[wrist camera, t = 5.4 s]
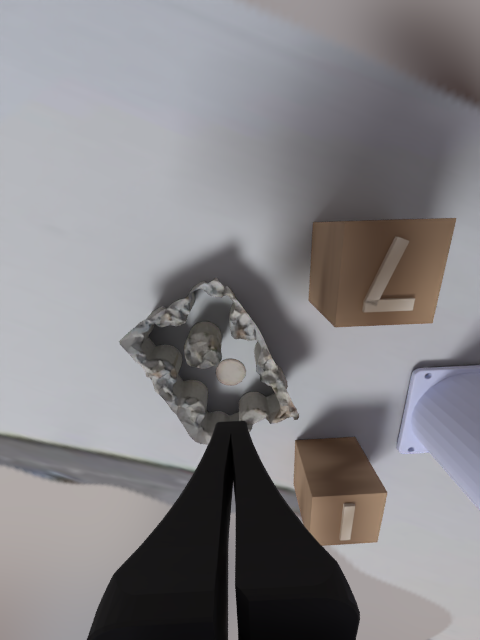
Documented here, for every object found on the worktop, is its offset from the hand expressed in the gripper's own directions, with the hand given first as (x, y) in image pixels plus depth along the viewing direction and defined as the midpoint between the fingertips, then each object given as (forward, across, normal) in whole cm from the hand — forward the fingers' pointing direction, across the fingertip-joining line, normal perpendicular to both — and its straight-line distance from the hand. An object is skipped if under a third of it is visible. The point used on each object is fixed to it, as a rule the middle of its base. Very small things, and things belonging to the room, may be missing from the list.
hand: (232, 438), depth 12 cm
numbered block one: (+8, -7, +10) cm, 15 cm away
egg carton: (+8, +1, 0) cm, 8 cm away
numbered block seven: (+8, -8, -7) cm, 13 cm away
